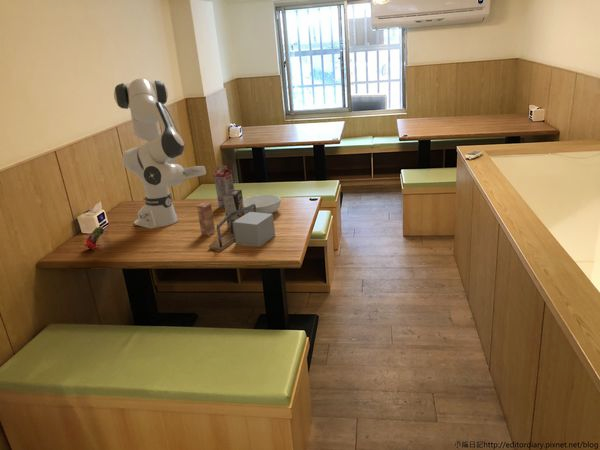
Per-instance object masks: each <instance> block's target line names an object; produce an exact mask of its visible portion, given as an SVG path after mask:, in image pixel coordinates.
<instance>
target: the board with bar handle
mask: <svg viewBox="0 0 600 450" xmlns="http://www.w3.org/2000/svg"><path fill="white" fill-rule="evenodd" d="M252 207H253V208H254V212H257V211H256V205H255V204H252V205H249V206H247V207H244V208H242V209H239V210H236V211H234V212H231V213H229V214H228V215H227V216H226V215H225V217H224V218H223V219H222V220H221V221H220V222H218V224H217V225H216V232H217V238H218V239H217V240H216V241H215V242H213V243H211V244H210V245H208V249H209V250H211V251H218V252H221V251H223V250H224V249H226V248H227V247H229V246H230V245H232V244H233V243H236V239H235V232H234V228H233V224H232V217H231V216H232V215H234V214H237V213H239V212H242V211H244V210H247V209H250V208H252ZM228 218H229V222H230V228H229V229H230V232H229V233H227V234H226V235H223V236H222V233H221V227H222V226H223V225H224V224H225V222H227V219H228Z"/></svg>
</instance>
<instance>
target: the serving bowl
mask: <svg viewBox="0 0 600 450" xmlns="http://www.w3.org/2000/svg"><path fill="white" fill-rule="evenodd" d="M281 201H282V199H281V197H280V196H279V195H274V194H257V195H251V196H248V197H245V198H243V205H244V207H247V206H249V205H252V204H255V205H256V211H257V213H268V214H273V213H275V212H276V211H278V209H279V208H280V206H281ZM244 212H245V214H247V213H249V212H254V208H253V207H252V208H250V209H247V210H244Z"/></svg>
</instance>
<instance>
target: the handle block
mask: <svg viewBox="0 0 600 450" xmlns="http://www.w3.org/2000/svg"><path fill="white" fill-rule="evenodd" d="M196 210H197V215H198V222H199V227H200V233H201V235H202V236H209V237H210V236H212V235H213V234H214V233H216V228H215V221H214V215H213V210H212V203H210V202H202V203H200V204H197V205H196Z"/></svg>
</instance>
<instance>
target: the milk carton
mask: <svg viewBox="0 0 600 450" xmlns="http://www.w3.org/2000/svg"><path fill="white" fill-rule="evenodd" d="M227 167H228V166H227V165H216V169H215V170H214V171H213V177H214V178H213V179H214V184H215V191H216V197H217V203H218V208H224V209H225V205H224V198H223V196H224V195H225V194H226V193H227V192H228V191H229V190H235V185H234V179H233V172H232V171H233V170H231V169H228V168H227Z"/></svg>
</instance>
